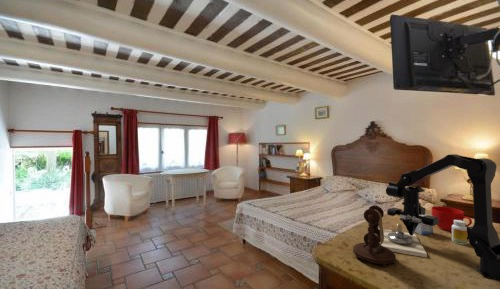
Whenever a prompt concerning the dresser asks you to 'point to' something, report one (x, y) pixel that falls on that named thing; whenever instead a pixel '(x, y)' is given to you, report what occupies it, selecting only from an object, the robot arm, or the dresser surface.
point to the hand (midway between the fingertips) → (411, 235)
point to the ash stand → (406, 249)
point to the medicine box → (423, 228)
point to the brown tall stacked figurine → (374, 240)
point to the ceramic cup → (448, 217)
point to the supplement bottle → (459, 232)
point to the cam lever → (399, 236)
